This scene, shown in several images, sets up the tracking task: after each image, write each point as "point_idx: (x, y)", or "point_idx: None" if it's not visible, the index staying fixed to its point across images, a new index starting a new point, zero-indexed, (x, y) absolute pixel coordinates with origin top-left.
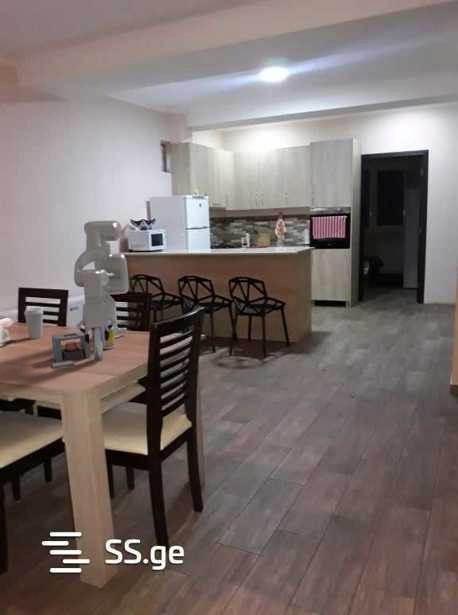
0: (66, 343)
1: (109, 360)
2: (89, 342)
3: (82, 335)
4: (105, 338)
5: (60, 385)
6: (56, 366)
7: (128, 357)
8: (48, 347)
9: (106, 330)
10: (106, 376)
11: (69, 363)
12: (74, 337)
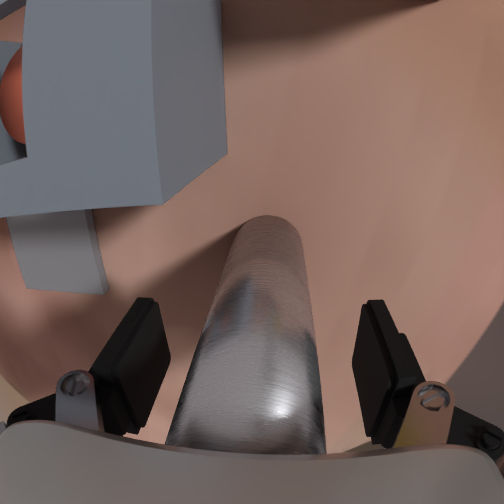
0: (5, 91)
1: (321, 314)
2: (167, 365)
3: (71, 189)
4: (361, 345)
5: None
6: (36, 287)
7: (435, 309)
8: None
9: (388, 443)
10: None
11: (83, 286)
12: (4, 213)
